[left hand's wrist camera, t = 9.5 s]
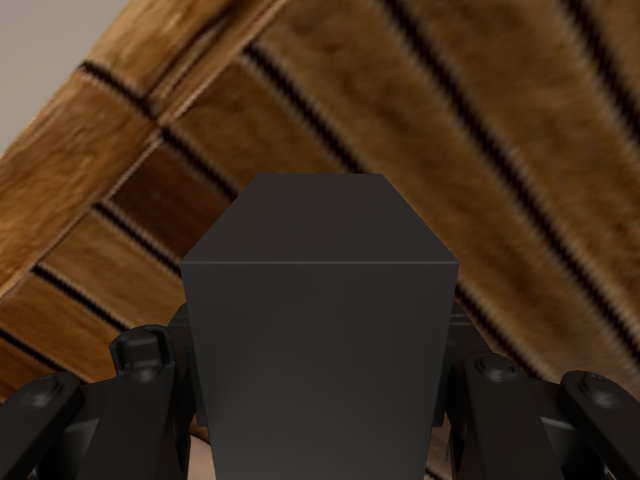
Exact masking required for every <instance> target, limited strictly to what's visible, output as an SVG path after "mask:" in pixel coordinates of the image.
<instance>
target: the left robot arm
mask: <svg viewBox="0 0 640 480" xmlns="http://www.w3.org/2000/svg"><path fill="white" fill-rule="evenodd" d="M109 349H110V352H111V356H112V359H113V363H114V366H115V370H116V374H117V375H116V377H115V378H112V379H108V380H104V381H100V382H95V383H91V384H86V385H82V386H81V385H80V382H79V379H78V377H77V376H76V375H74V374H73V373H69V372H57V373H51V374H48V375H45V376H42V377H39V378H37V379H35V380H33V381H31V382H29V383H27V384H25V385H24V386H22V387H21V388H20V389H18V390H17V391H16V392H15V393H13V394H12V395H11V396H10V397H9V398H8V399H7V400H6V401H5V402H4V403H3V404H2V405H1V406H0V480H26V478H27V477H28V476H29V474H30V473H31V472H33V473H32V475H31V476H30V477H29V479H28V480H188V470H189V460H190V449H191V436H190V430H189V426H190V424H191V421H192V419H193V416H194V414H195V413H196V418H197V424H198V427H207V423H206V417H205V411H204V405H203V399H202V393H201V387H200V381H199V375H198V369H197V363H196V357H195V351H194V345H193V339H192V333H191V327H190V321H189V315H188V309H187V303H184V304H183V305H181V306H180V307H179V309H178V310H177V312H176V313H175V315H174V317H173V318H172V319H171V321H170V322H169V323H168V326H166V327H165V326H161V325H157V324H155V325H143V326H139V327H135V328H132V329H130V330H128V331H126V332H123V333H122V334H121V335H119V336H118V337H116V338H115V339H114V340H113V341H112V343H111V344H110V345H109ZM445 412H446V414H447V417H448V419H449V421H450V424H451V430H450V435H449V440H448V445H447V450H446V456H445V462H449V461H450V459H451V469H452V479H453V480H614V479H613V478H612V476H611V475H610V474H609V472H608V471H609V470H610V471H611V473H612V474H613V475H614V477H615V478H616V479H617V480H640V403H639V402H638V401H637V400H635V399H634V398H633V397H632V396H631V395H630V394H629V393H628V392H627V391H626V390H624V389H623V388H622V387H620V386H619V385H618V384H617V383H615V382H613V381H611V380H609V379H607V378H605V377H603V376H600V375H598V374H594V373H591V372H587V371H579V370H576V371H569V372H567V373H566V374H565V375H563V377H562V380H561V383H560V384H556V383H551V382H547V381H542V380H538V379H534V378H530V377H527V376H524V375H523V373H522V371H521V370H520V368H519V367H518V366H517V365H516V364H515V363H513V362H512V361H511V360H510V359H508V358H506V357H504V356H502V355H500V354H497V353H493V352H492V351H491V349H490V348H489V346H488V345H487V343H486V342H485V340H484V339H483V338H482V336H481V335H480V333H479V332H478V330H477V329H476V327H475V326H474V325H473V323H472V322H471V320H470V319H469V317H467V314H466V313H465V311H464V310H463V309H462V307H461V306H460V305H459V304H458V303H456V302H455V301H453V304H452V310H451V316H450V322H449V328H448V334H447V340H446V346H445V353H444V359H443V365H442V371H441V377H440V383H439V389H438V395H437V401H436V407H435V413H434V419H433V425H432V427H442V425H443V420H444V414H445Z"/></svg>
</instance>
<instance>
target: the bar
mask: <svg viewBox="0 0 640 480" xmlns="http://www.w3.org/2000/svg"><path fill="white" fill-rule="evenodd" d="M180 267H181V273H182V279H183V285H184V291H185V297H186V303H187V309H188V315H189V321H190V327H191V333H192V339H193V345H194V351H195V357H196V363H197V369H198V375H199V381H200V387H201V393H202V399H203V405H204V411H205V417H206V423H207V429H208V435H209V441H210V446H211V452H212V458H213V464H214V470H215V476H216V480H424V474H425V468H426V462H427V456H428V449H429V443H430V437H431V431H432V425H433V419H434V413H435V407H436V401H437V395H438V389H439V383H440V377H441V371H442V365H443V359H444V353H445V346H446V340H447V334H448V328H449V322H450V316H451V310H452V304H453V298H454V292H455V286H456V280H457V274H458V268H459V261H458V260H457V259H456V258H455V257H454V256H453V255H452V253H451V252H450V251H449V250H448V249H447V248H446V247H445V245H444V244H443V243H442V242H441V241H440V240H439V239H438V237H437V236H436V235H435V234H434V233H433V232H432V231H431V229H430V228H429V227H428V226H427V225H426V224H425V223H424V221H423V220H422V219H421V218H420V217H419V216H418V215H417V213H416V212H415V211H414V210H413V209H412V208H411V207H410V205H409V204H408V203H407V202H406V201H405V200H404V199H403V198H402V196H401V195H400V194H399V193H398V192H397V191H396V190H395V188H394V187H393V186H392V185H391V184H390V183H389V182H388V180H387V179H386V178H385V177H384V176H383V175H382V174H258V175H257V176H256V177H255V178H254V179H253V180H252V182H251V183H250V184H249V185H248V186H247V187H246V188H245V189H244V191H243V192H242V193H241V194H240V195H239V196H238V197H237V198H236V200H235V201H234V202H233V203H232V204H231V205H230V206H229V207H228V209H227V210H226V211H225V212H224V213H223V214H222V215H221V216H220V218H219V219H218V220H217V221H216V222H215V223H214V224H213V225H212V227H211V228H210V229H209V230H208V231H207V232H206V233H205V234H204V236H203V237H202V238H201V239H200V240H199V241H198V242H197V244H196V245H195V246H194V247H193V248H192V249H191V250H190V251H189V253H188V254H187V255H186V256H185V257H184V258H183V259H182V260H181V262H180Z"/></svg>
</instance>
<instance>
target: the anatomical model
mask: <svg viewBox="0 0 640 480" xmlns="http://www.w3.org/2000/svg"><path fill="white" fill-rule="evenodd" d="M190 436H191V435H190ZM188 480H216V476H215V470H214V464H213V458H212V452H211V446H210V445H209V444H207V443H206V442H204V441H202V440H200V439H198V438H196V437H194V436H191V449H190V460H189V470H188Z"/></svg>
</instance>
